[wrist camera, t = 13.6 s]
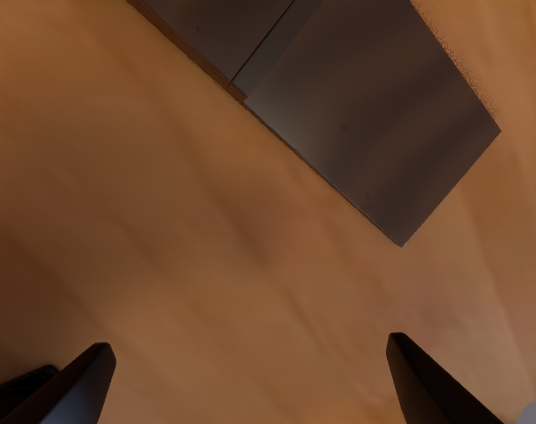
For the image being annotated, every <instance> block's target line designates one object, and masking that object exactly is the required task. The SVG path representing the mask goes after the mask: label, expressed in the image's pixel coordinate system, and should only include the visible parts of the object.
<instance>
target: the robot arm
mask: <svg viewBox="0 0 536 424" xmlns="http://www.w3.org/2000/svg"><path fill="white" fill-rule="evenodd" d="M386 356H387V360H388V364H389V367H390V371H391V374H392V378H393V382H394V385H395V389H396V392H397V396H398V399H399V403H400V406H401V410H402V412H403V415H404V418H405V420H406V423H407V424H504V423H503V422H502V421H501V420H499V419H498V418H497V417H496V416H495V415H494V414H493V413H492V412H491V411H490V410H488V409H487V408H486V407H485V406H484V405H483V404H482V403H481V402H480V401H479V400H477V399H476V398H475V397H474V396H473V395H472V394H471V393H470V392H469V391H468V390H466V389H465V388H464V387H463V386H462V385H461V384H460V383H459V382H458V381H457V380H455V379H454V378H453V377H452V376H451V375H450V374H449V373H448V372H447V371H446V370H444V369H443V368H442V367H441V366H440V365H439V364H438V363H437V362H436V361H435V360H433V359H432V358H431V357H430V356H429V355H428V354H427V353H426V352H425V351H424V350H422V349H421V348H420V347H419V346H418V345H417V344H416V343H415V342H414V341H413V340H411V339H410V338H409V337H408V336H407V335H406V334H404V333H402V332H396V333H390V334H389V338H388V343H387V348H386ZM115 367H116V358H115V355H114V353H113V351H112V348H111V346H110V344H109V343H107V342H100V343H94V344H93V345H91V346H90V347H89V348H88V349H87V350H85V351H84V352H83V353H82V354H81V355H79V356H78V357H77V358H76V359H75V360H73V361H72V362H71V363H70V364H68V365H67V366H66V367H65V368H64V369H62V370H61V371H60V372H59V371H58V370H57V369H56V368H55V367H54V366H52V365H46V366H43V367H41V368H38V369H36V370H34V371H31V372H29V373H27V374H24V375H22V376H20V377H17V378H15V379H13V380H10V381H8V382H5V383H3V384H1V385H0V424H97V422H98V419H99V417H100V414H101V411H102V408H103V405H104V402H105V398H106V395H107V392H108V389H109V386H110V383H111V379H112V376H113V373H114V370H115ZM45 372H46V373H49V374H46V373H45Z"/></svg>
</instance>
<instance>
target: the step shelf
mask: <svg viewBox="0 0 536 424" xmlns="http://www.w3.org/2000/svg"><path fill="white" fill-rule="evenodd" d="M127 1H128V2H129V3H130V4H131V5H132V6H133V7H135V8H136V9H137V10H138V11H139V12H140V13H141V14H142V15H143V16H144V17H146V18H147V19H148V20H149V21H150V22H151V23H152V24H153V25H154V26H156V27H157V28H158V29H159V30H160V31H161V32H162V33H163V34H164V35H165V36H167V37H168V38H169V39H170V40H171V41H172V42H173V43H174V44H175V45H177V46H178V47H179V48H180V49H181V50H182V51H183V52H184V53H185V54H186V55H188V56H189V57H190V58H191V59H192V60H193V61H194V62H195V63H196V64H197V65H199V66H200V67H201V68H202V69H203V70H204V71H205V72H206V73H207V74H209V75H210V76H211V77H212V78H213V79H214V80H215V81H216V82H217V83H218V84H220V85H221V86H222V87H223V88H224V89H225V90H227V92H228V93H230V94H231V95H232V96H233V97H234V98H235V99H236V100H237V101H238V102H239V103H241V104H242V105H243V106H244V107H245V108H246V109H247V110H248V111H249V112H251V113H252V114H253V115H254V116H255V117H256V118H257V119H258V120H259V121H260V122H262V123H263V124H264V125H265V126H266V127H267V128H268V129H269V130H270V131H272V132H273V133H274V134H275V135H276V136H277V137H278V138H279V139H280V140H281V141H283V142H284V143H285V144H286V145H287V146H288V147H289V148H290V149H291V150H292V151H294V152H295V153H296V154H297V155H298V156H299V157H300V158H301V159H302V160H304V161H305V162H306V163H307V164H308V165H309V166H310V167H311V168H312V169H313V170H315V171H316V172H317V173H318V174H319V175H320V176H321V177H322V178H323V179H325V180H326V181H327V182H328V183H329V184H330V185H331V186H332V187H333V188H334V189H336V190H337V191H338V192H339V193H340V194H341V195H342V196H343V197H344V198H345V199H347V200H348V201H349V202H350V203H351V204H352V205H353V206H354V207H355V208H357V209H358V210H359V211H360V212H361V213H362V214H363V215H364V216H365V217H366V218H368V219H369V220H370V221H371V222H372V223H373V224H374V225H375V226H376V227H378V228H379V229H380V230H381V231H382V232H383V233H384V234H385V235H386V236H387V237H389V238H390V239H391V240H392V241H393V242H394V243H395V244H396V245H398V246H400V247H403V246H404V245H405V244H406V243H407V242H408V240H409V239H410V238H411V237H412V236H413V235H414V233H415V232H416V231H417V230H418V229H419V228H420V226H421V225H422V224H423V223H424V222H425V220H426V219H427V218H428V217H429V216H430V215H431V213H432V212H433V211H434V210H435V209H436V208H437V206H438V205H439V204H440V203H441V202H442V200H443V199H444V198H445V197H446V196H447V195H448V193H449V192H450V191H451V190H452V189H453V188H454V186H455V185H456V184H457V183H458V182H459V181H460V179H461V178H462V177H463V176H464V175H465V173H466V172H467V171H468V170H469V169H470V168H471V166H472V165H473V164H474V163H475V162H476V161H477V159H478V158H479V157H480V156H481V155H482V153H483V152H484V151H485V150H486V149H487V148H488V146H489V145H490V144H491V143H492V142H493V141H494V139H495V138H496V137H497V136H498V135H499V133H500V132H501V130H500V128H499V127H498V125H497V124H496V122H495V121H494V120H493V118H492V117H491V115H490V114H489V113H488V111H487V110H486V108H485V107H484V105H483V104H482V103H481V101H480V100H479V98H478V97H477V96H476V94H475V93H474V91H473V90H472V89H471V87H470V86H469V84H468V83H467V81H466V80H465V79H464V77H463V76H462V74H461V73H460V72H459V70H458V69H457V67H456V66H455V64H454V63H453V62H452V60H451V59H450V57H449V56H448V55H447V53H446V52H445V50H444V49H443V47H442V46H441V45H440V43H439V42H438V40H437V39H436V38H435V36H434V35H433V33H432V32H431V31H430V29H429V28H428V26H427V25H426V23H425V22H424V21H423V19H422V18H421V16H420V15H419V14H418V12H417V11H416V9H415V8H414V6H413V5H412V4H411V2H410V1H409V0H127Z"/></svg>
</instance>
